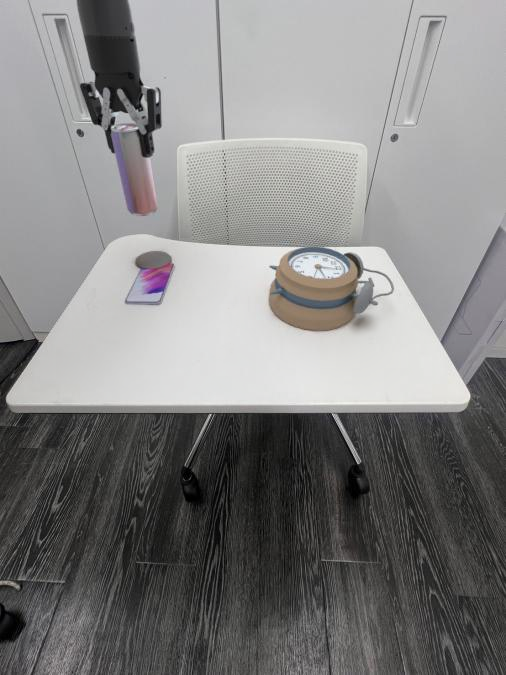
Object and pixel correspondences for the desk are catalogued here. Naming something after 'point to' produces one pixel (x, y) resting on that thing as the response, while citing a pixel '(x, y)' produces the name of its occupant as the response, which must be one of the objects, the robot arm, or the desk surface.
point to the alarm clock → (320, 288)
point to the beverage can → (134, 170)
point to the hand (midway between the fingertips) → (132, 154)
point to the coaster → (153, 260)
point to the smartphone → (150, 286)
